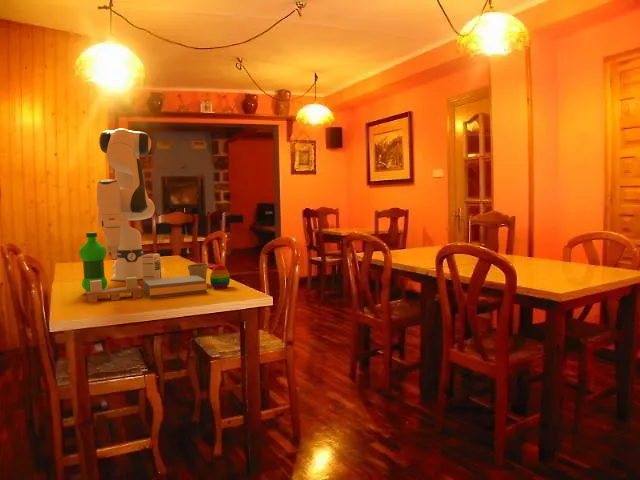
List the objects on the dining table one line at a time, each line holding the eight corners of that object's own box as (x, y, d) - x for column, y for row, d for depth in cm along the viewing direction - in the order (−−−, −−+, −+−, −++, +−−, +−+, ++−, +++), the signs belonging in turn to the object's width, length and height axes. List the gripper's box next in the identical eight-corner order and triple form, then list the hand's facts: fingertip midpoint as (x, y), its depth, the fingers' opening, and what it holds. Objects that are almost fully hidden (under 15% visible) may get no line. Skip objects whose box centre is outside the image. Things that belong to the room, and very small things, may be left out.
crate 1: (90, 290, 208) (89, 280, 208) (101, 289, 210) (100, 279, 209) (90, 292, 205) (90, 282, 204) (102, 291, 206) (101, 281, 206)
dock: (144, 292, 223) (143, 280, 222) (197, 286, 232) (196, 275, 232) (150, 298, 208) (149, 285, 207) (206, 292, 217) (206, 280, 217)
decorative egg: (227, 289, 224) (226, 265, 223) (208, 289, 225) (207, 265, 224) (232, 285, 232) (231, 262, 231) (213, 286, 233) (212, 263, 232)
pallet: (86, 300, 209) (86, 290, 208) (140, 294, 217) (140, 285, 217) (87, 302, 203) (86, 293, 203) (142, 297, 212) (142, 288, 212)
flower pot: (183, 285, 236) (182, 266, 235) (195, 282, 244) (194, 263, 244) (201, 286, 232) (201, 266, 232) (213, 283, 241) (212, 263, 240)
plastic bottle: (93, 289, 231) (90, 231, 229) (113, 290, 228) (110, 231, 225) (76, 294, 222) (72, 233, 220) (96, 295, 218) (92, 233, 216)
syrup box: (155, 288, 230) (153, 254, 229) (143, 288, 232) (141, 254, 230) (162, 286, 236) (160, 253, 235) (149, 286, 237) (148, 253, 236)
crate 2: (125, 287, 214) (125, 277, 213) (136, 286, 215) (135, 276, 215) (127, 289, 210) (126, 278, 210) (137, 288, 212) (137, 278, 211)
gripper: (99, 221, 216) (102, 255, 217) (103, 222, 197) (106, 260, 198) (116, 220, 218) (118, 254, 219) (122, 222, 200) (124, 259, 201)
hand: (112, 257), depth 209 cm, fingers open, 8 cm apart
